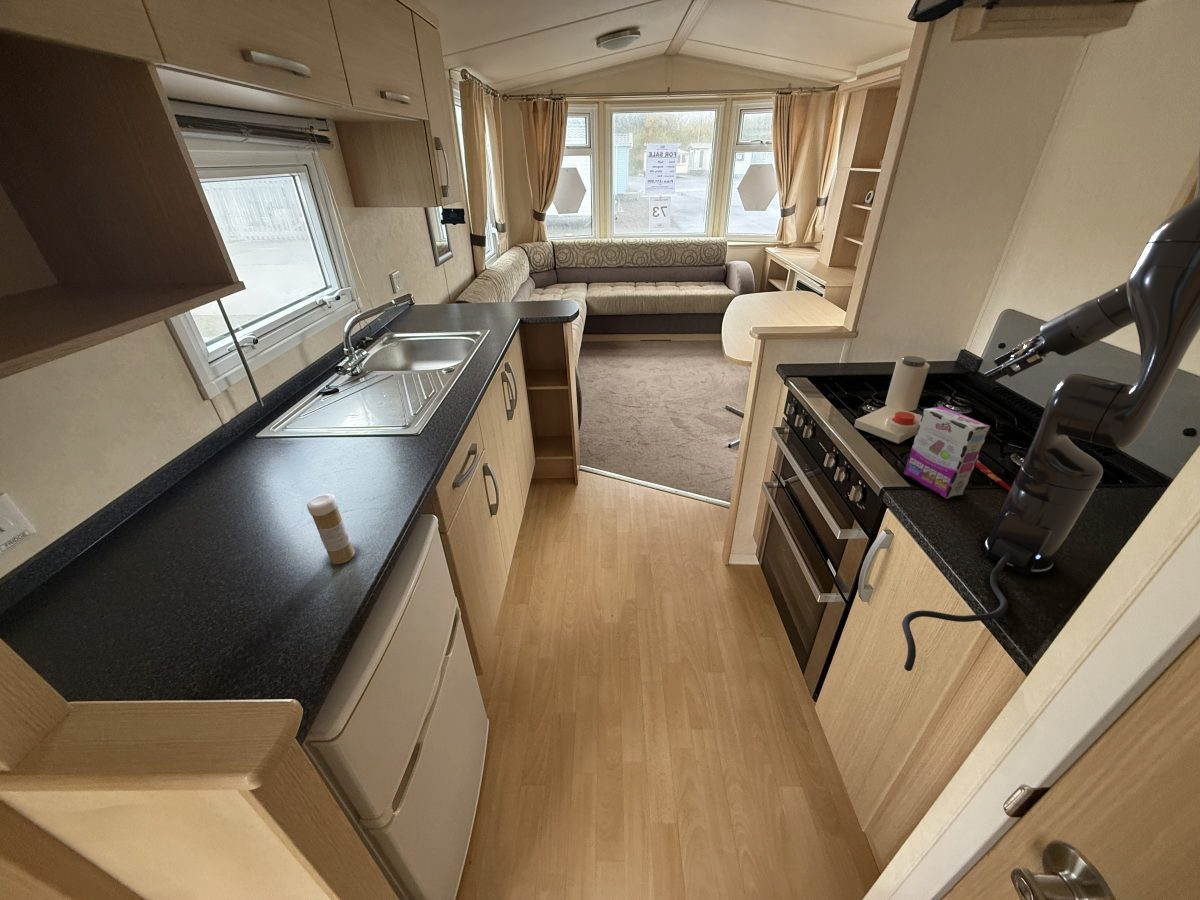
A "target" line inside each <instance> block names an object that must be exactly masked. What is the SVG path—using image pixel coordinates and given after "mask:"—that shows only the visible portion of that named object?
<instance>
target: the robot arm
mask: <svg viewBox="0 0 1200 900" xmlns="http://www.w3.org/2000/svg"><path fill="white" fill-rule="evenodd" d="M1197 167H1198V168H1197V179H1196V185H1195V186H1196V187H1195V192H1194V196H1193V199H1192V200H1190V201H1189V202H1187V203H1186V204H1185V205H1183V206H1182V207H1181V208H1180V209H1178V210H1177V211H1176V212H1175V211H1174V213H1173V214H1171V215H1170V216H1168V218H1166V219H1165V220H1164V221H1163V222H1161V223H1160V224H1159V225H1158V226H1157V227H1156V228H1155V229H1154V231H1153V232H1152V233H1151V234H1150V236H1149V238H1148V240H1147V241H1146V243H1145V245H1144V247H1143V249H1142V250H1141V252H1140V254H1139V256H1138V258H1137V260H1136V262H1135V264H1134V265H1133V267H1132V269H1131V270H1130V273H1129V275H1128V277H1127V281H1125V282H1123V283H1122V284H1120V285H1117V286H1115V287H1113V288H1111V289H1110V290H1108V291H1106V292H1104V293H1102V294H1101V295H1099V296H1097V297H1095V298H1092V299H1090V300H1087V301H1085V302H1082V303H1080V304H1078V305H1076V306H1075V307H1073V308H1071V309H1069V310H1067V311H1066V312H1063V313H1061V314H1060V315H1058V316H1056V317H1053V318H1052V319H1050V320H1048V321H1047V322H1045V323H1043V324H1041V326H1040V329H1039V331H1040V332H1039V333H1038V334H1035V335H1033V336H1031V337H1029V338H1027V339H1025V340H1023V341H1021V342H1019V343H1018V344H1016V346H1014V347H1013V348H1012V349H1011V350H1010V351H1008V352H1006V353H1004V354H1002V355H1000V356H998V357H996V358H995V359H994V360H993V363H994V364H995V365H996V367H994V368H993V369H991V370H988V371H986V372H984V373H983V375H982V377H983V379H984V380H985V381H986V382H987V383H989V384H990V383H993V382H995V381H997V380H999V379H1001V378H1003V377H1005V376H1008V377H1009V378H1011V377H1014V376H1015V375H1017V374H1019V373H1022V372H1024V371H1026V370H1028V369H1029V368H1031V367H1034V366H1035V365H1038V364H1040V363H1042V362H1043V361H1044V359H1045V358H1046V357H1047V354H1049V353H1051V352H1053V353H1056V354H1057V355H1059V356H1062V357H1065V356H1069V355H1071V354H1073V353H1075V352H1078V351H1079V350H1082V349H1084V348H1086V347H1088V346H1090V345H1092V344H1095V343H1097V342H1099V341H1101V340H1104V339H1105V338H1107V337H1109V336H1111V335H1113V334H1115V333H1116V332H1118V331H1119V330H1122V329H1123V328H1125V327H1128V326H1130V325H1132V324H1135V327H1136V331H1137V335H1138V341H1139V348H1140V349H1139V350H1140V366H1139V372H1138V375H1137V379H1136V380H1135V383H1127V382H1123V381H1118V380H1113V379H1108V378H1103V377H1099V376H1095V375H1089V374H1082V373H1072V374H1068V375H1066V376H1064V377H1063V378H1062V379H1061V380H1060V381H1058V383H1057V385H1056V386H1055V387H1054V388H1053V390H1052V392H1051V394H1050V396H1049V397H1048V400H1047V403H1046V405H1045V407H1044V410H1043V413H1042V415H1041V417H1040V421H1039V424H1038V426H1037V429H1036V431H1035V433H1034V437H1033V439H1032V442H1031V443H1030V445H1029V448H1028V450H1027V452H1026V454H1025V457H1024V459H1023V461H1022V463H1021V465H1020V468H1019V470H1018V472H1017V474H1016V476H1015V479H1014V480H1013V482H1012V485H1011V486H1010V487H1011V489H1010V491H1008V493H1007V495H1006V498H1005V500H1004V502H1003V504H1002V506H1001V508H1000V510H999V513H998V515H997V517H996V520H995V522H994V524H993V526H992V529H991V531H990V533H989V534H988V537H987V538H986V540H985V541H984V545H983V546H984V550H985V552H986V553H985V555H984V556H985V557H986V558H988V559H991V560H992V561H994V562H996V563H997V564H996V565H995V567H994V568H993V570H992V571H991V573H990V577H989V583H990V587H991V590H992V591H993V593H994V595H995V597H997V599H998V601H999V606H998V607H997V609H995V610H992V611H991V612H986V613H979V614H968V615H960V614H959V615H958V614H950V613H945V612H940V611H933V610H924V609H923V610H922V609H921V610H915V611H911V612H909V613H907V614H906V615H905V616H904V617H903V619H902V622H901V625H902V630H903V631H902V632H903V633H904V637H905V640H906V644H907V655H906V660H905V662H904V666H903V668H904V670H905V671H907V672H911V671H913V668H914V666H915V661H916V657H917V648H916V642H915V639H914V636H913V633H912V630H911V622H912V621H913V620H915V619H917V618H923V617H925V618H933V619H937V620H938V619H939V620H944V621H949V622H957V623H971V622H981V621H989V620H994V619H997V618H1000V617H1001V616H1003V615H1004V614H1005V613H1006V612H1007V610H1008V608H1009V603H1008V600H1007V598H1006V596H1005V595H1004V594H1003V592H1002V591H1001V589H1000V587H999V584H998V579H999V575H1000V574H1001V572H1002V571H1003V569H1005V567H1007V568H1009V569H1011V570H1013V571H1015V572H1017V573H1019V574H1021V575H1023V576H1026V577H1028V576H1029V575H1031V574H1032V575H1043V574H1046V573H1048V572H1049V571H1051V569H1052V567H1053V566H1054V562H1055V561H1056V559H1057V558H1058V555H1059V554H1060V551H1061V550H1062V548H1063V546H1064V544H1065V543H1066V541H1067V539H1068V537H1069V536H1070V534H1071V532H1072V530H1073V529H1074V526H1075V524H1076V523H1077V521H1078V519H1079V517H1080V516H1081V514H1082V513H1083V510H1084V509H1085V507H1086V505H1087V504H1088V502H1089V500H1090V498H1091V497H1092V495H1093V493H1094V491H1095V490H1096V487H1098V484H1099V483H1100V481H1101V479H1102V477H1103V475H1104V468H1103V466H1102V464H1101V463H1100V462H1099V461H1098V460H1097V459H1095V458H1094V457H1093V456H1091V455H1090V454H1088V453H1087V452H1085V451H1083V450H1082V449H1081V448H1079V447H1078V446H1077V445H1075V444H1074V443H1073V441H1072V440H1071V438H1073V439H1077V440H1080V441H1084V442H1087V443H1091V444H1094V445H1097V446H1102V447H1105V448H1109V449H1113V450H1124V449H1127V448H1129V447H1131V446H1132V445H1133V444H1135V442H1136V441H1137V440H1138V439H1139V438H1140V437H1141V436H1142V434H1143V433H1144V432H1145V430H1146V428H1147V427H1148V425H1149V423H1150V422H1151V420H1152V418H1153V417H1154V414H1155V413H1156V411H1157V409H1158V407H1159V406H1160V403H1161V401H1162V400H1163V398H1164V396H1165V393H1166V392H1167V390H1168V388H1169V386H1170V384H1171V382H1172V380H1173V378H1174V377H1175V374H1176V373H1177V371H1178V368H1179V367H1180V364H1181V363H1182V362H1183V359H1184V357H1185V355H1186V353H1187V352H1188V349H1189V348H1190V346H1191V345H1192V342H1193V341H1194V339H1195V337H1196V336H1197V335H1198V332H1199V331H1200V148H1199V151H1198V166H1197ZM1014 365H1016V366H1015V367H1013V368H1012V366H1014Z"/></svg>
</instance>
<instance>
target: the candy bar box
mask: <svg viewBox="0 0 1200 900" xmlns="http://www.w3.org/2000/svg"><path fill="white" fill-rule="evenodd" d="M990 428H991V425H989V424H986V423H984V422H981V421H979V420H976V419H974V418H971V417H969V416H966V415H964V414H962V413H960V412H958V411H954V410H953V409H950V408H947V407H945V406H942V405H939V406H933V407H929V408H924V409H923V412H922V418H921V421H920V424H919V427H918V430H917V434H916V435H915V436H914V440H913V443H912V447H911V449H910V453H909V456H908V459H907V462H906V465H905V468H904V471H903V474H904V475H905V476H907V477H908V478H910V479H912V480H913V481H915V482H917V483H919V484H920V485H922V486H924V487H925V488H927V489H928V490H930V491H932V492H934V493H936V494H937V495H939V496H941V497H943V498H944V499H952V498H955V497H956V498H957V497H960V496H964V494H965V491H966V488H967V486H968V484H969V481H970V478H971V476H972V474H973V471H974V469H975V464H976V461H977V460H978V459H979V457H980V454H981V451H982V449H983V446H984V443H985V441H986V438H987V436H988V434H989V431H990Z"/></svg>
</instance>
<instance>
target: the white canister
mask: <svg viewBox="0 0 1200 900" xmlns="http://www.w3.org/2000/svg"><path fill="white" fill-rule="evenodd" d="M930 367H931V366H930V363H928V362H927V360H926V359H925V358H923V357H920V356H916V355H915V356H914V355H906V356H903V357H902V358H901V359H897V360H896V362H895V365H894V370H893V373H892V377H891V380H890V383H889V387H888V390H887V396H886V399H885V401H884V404H885V406H888V407H890V408H893V409H896V410H901V411H909V412H913V411H916V410H917V409H918V406H919V402H920V400H921V395H922V393H923V390H924V386H925V383H926V380H927V376H928V373H929V370H930Z"/></svg>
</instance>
